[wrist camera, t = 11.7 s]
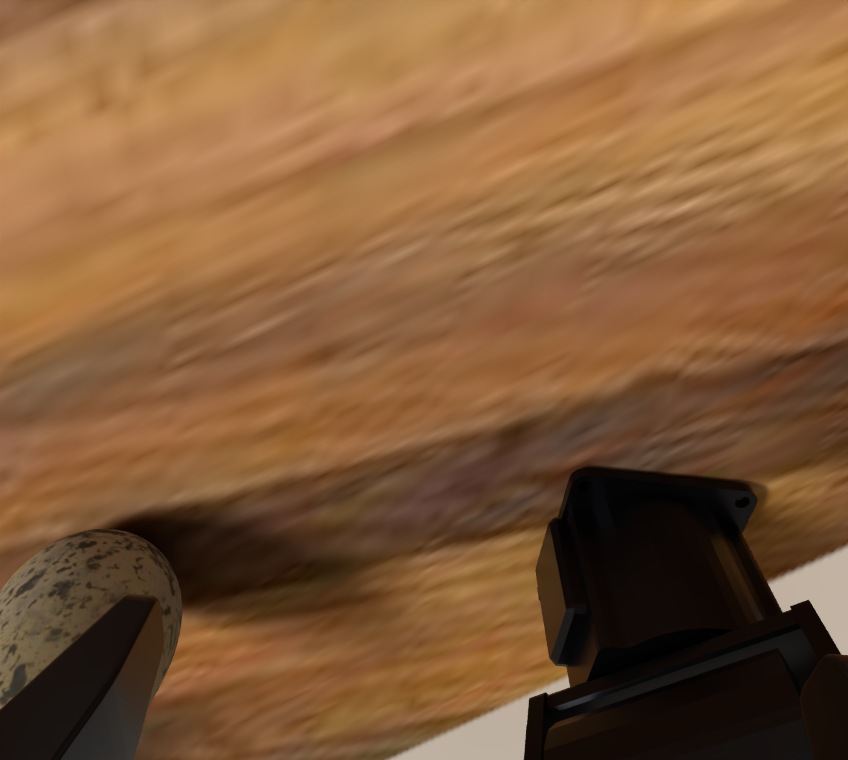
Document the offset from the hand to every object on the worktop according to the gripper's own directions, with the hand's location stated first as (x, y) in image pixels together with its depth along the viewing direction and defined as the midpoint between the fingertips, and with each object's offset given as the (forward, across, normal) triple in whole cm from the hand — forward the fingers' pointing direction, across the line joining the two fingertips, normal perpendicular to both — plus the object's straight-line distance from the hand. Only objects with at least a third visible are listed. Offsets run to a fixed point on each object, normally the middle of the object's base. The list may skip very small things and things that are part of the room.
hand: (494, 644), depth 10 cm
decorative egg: (+13, +11, +13) cm, 22 cm away
